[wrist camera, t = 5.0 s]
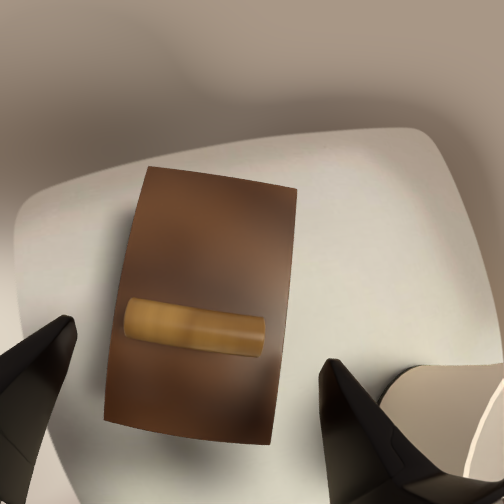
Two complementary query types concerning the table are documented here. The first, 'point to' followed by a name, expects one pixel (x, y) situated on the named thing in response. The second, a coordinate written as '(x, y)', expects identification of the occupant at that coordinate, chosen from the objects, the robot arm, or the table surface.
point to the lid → (202, 308)
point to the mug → (452, 416)
